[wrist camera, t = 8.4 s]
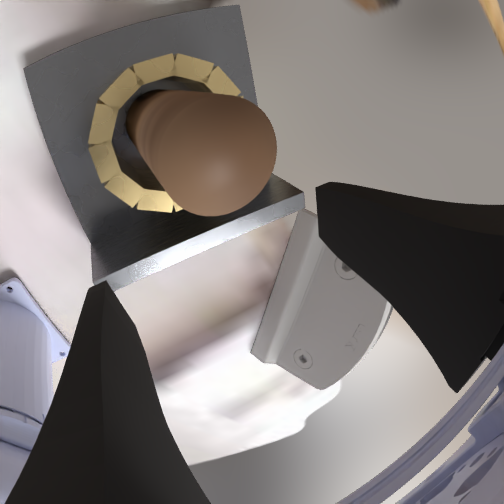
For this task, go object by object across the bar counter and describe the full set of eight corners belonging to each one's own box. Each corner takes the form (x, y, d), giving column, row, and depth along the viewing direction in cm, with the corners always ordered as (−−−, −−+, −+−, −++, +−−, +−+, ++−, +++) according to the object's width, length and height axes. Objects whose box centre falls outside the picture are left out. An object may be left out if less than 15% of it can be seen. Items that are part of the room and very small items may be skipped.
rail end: (140, 162, 15) (188, 237, 9) (115, 107, 13) (137, 128, 7) (196, 134, 16) (287, 183, 10) (176, 79, 14) (259, 77, 7)
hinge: (300, 204, 24) (415, 265, 18) (327, 201, 27) (426, 252, 22) (249, 355, 31) (324, 413, 26) (276, 338, 34) (346, 388, 29)
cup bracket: (97, 248, 18) (101, 297, 14) (27, 69, 10) (1, 64, 7) (262, 179, 21) (305, 207, 17) (232, 7, 14) (276, -10, 10)
